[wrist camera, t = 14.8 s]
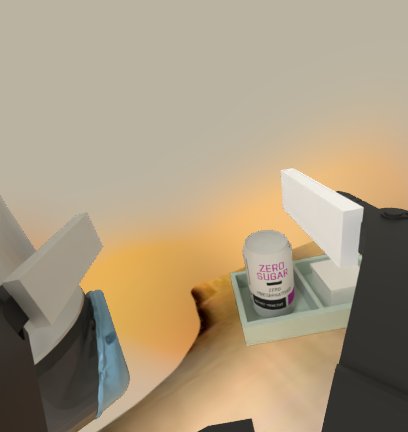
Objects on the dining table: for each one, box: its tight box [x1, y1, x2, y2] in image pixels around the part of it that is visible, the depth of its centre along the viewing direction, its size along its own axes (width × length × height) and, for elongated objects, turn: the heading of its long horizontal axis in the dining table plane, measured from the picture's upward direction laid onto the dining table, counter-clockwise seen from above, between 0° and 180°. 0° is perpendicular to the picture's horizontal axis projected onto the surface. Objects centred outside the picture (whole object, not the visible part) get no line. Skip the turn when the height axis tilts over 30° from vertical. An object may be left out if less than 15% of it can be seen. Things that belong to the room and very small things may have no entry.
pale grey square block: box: [310, 259, 360, 307], centre depth 43 cm, size 8×8×5 cm
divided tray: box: [230, 254, 362, 346], centre depth 44 cm, size 27×14×4 cm, turn 93°
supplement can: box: [243, 230, 295, 318], centre depth 41 cm, size 8×8×15 cm
